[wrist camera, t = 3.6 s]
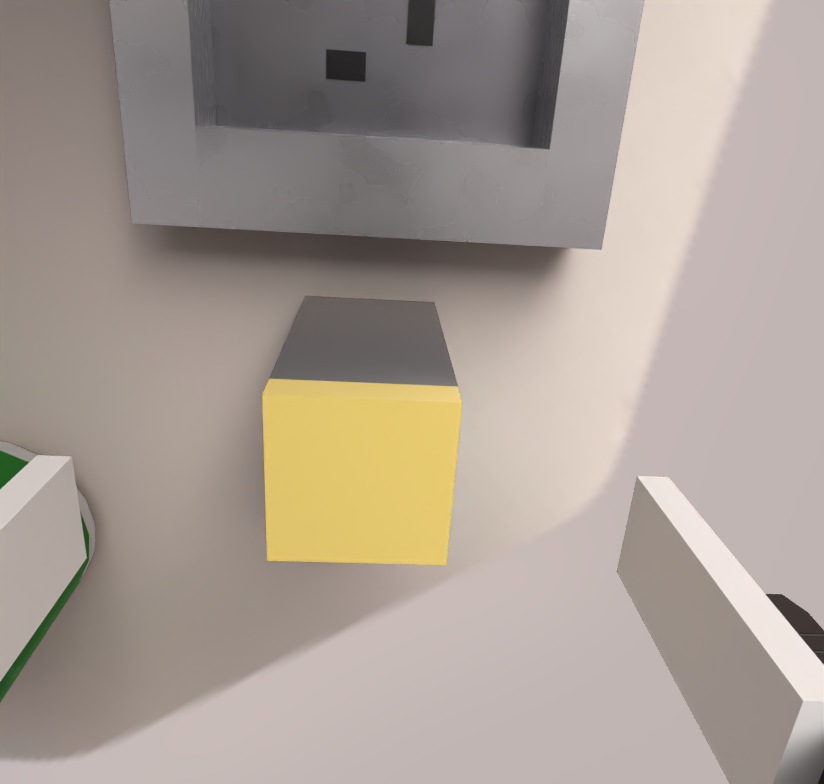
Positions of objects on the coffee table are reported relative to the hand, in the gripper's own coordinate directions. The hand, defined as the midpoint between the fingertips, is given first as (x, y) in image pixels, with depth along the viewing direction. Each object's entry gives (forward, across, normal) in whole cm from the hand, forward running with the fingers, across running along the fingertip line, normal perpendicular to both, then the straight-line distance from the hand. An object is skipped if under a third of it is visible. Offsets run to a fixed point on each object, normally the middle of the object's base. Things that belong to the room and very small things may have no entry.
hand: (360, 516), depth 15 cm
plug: (+10, 0, +1) cm, 10 cm away
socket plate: (+9, 0, +12) cm, 15 cm away
